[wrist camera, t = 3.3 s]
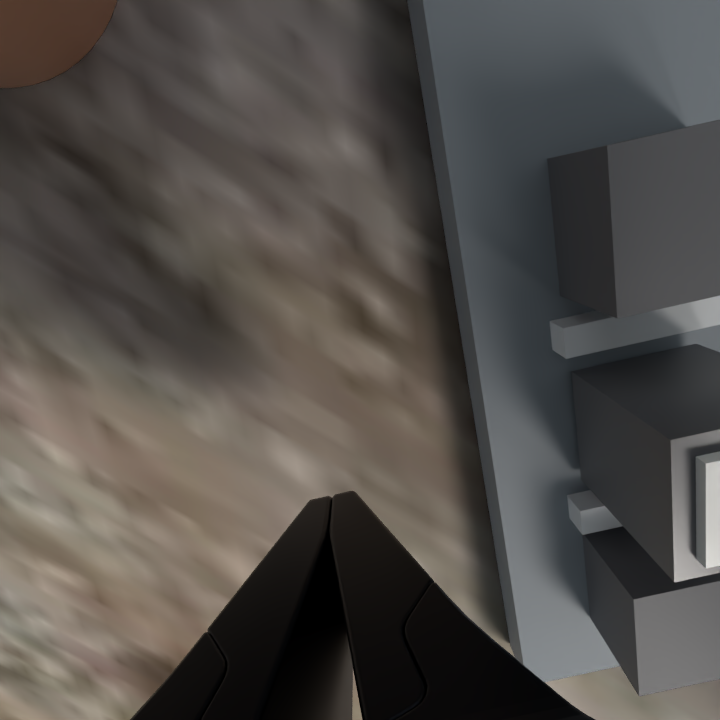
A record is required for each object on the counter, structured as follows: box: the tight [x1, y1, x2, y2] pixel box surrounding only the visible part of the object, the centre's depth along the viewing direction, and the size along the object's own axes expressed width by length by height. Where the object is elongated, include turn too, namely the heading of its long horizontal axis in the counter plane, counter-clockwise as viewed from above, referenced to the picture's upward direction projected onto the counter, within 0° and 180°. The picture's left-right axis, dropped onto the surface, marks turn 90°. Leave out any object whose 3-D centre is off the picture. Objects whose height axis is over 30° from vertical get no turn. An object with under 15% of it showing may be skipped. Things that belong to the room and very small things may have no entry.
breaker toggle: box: [571, 344, 720, 583], centre depth 9 cm, size 2×2×3 cm
